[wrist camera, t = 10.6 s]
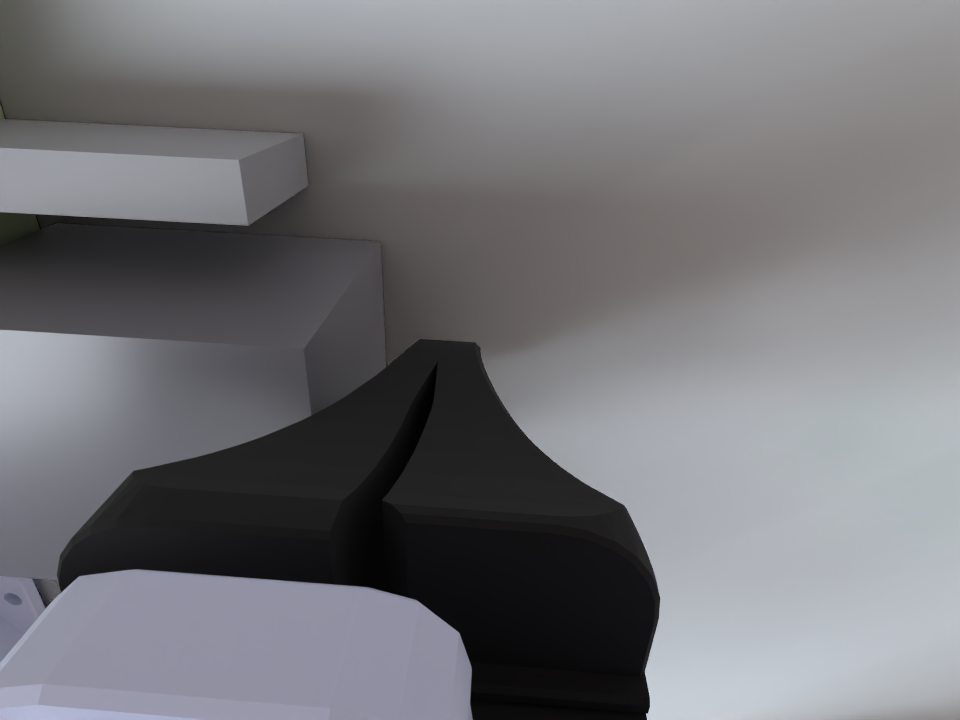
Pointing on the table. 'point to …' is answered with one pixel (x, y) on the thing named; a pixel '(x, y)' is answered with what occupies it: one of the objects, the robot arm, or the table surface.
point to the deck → (143, 173)
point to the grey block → (162, 359)
